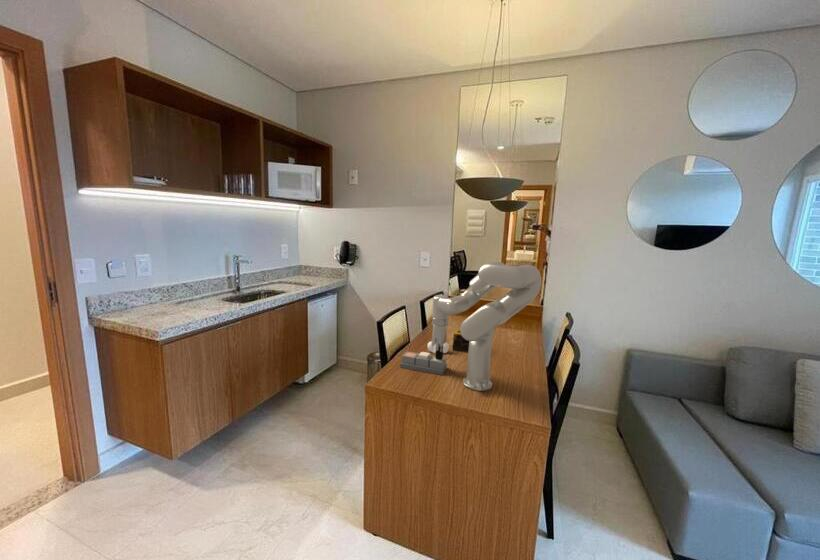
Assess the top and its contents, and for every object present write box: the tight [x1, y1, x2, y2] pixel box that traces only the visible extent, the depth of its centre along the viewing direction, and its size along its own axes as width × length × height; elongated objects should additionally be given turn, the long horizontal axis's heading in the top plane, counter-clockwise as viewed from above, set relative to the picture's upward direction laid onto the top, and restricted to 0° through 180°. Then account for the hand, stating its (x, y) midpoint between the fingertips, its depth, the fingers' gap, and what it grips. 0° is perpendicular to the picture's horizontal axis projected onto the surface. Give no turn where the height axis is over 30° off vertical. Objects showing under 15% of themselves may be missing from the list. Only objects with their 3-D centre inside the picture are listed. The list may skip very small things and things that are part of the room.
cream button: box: [418, 351, 431, 360], centre depth 162 cm, size 4×4×3 cm
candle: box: [451, 328, 470, 353], centre depth 190 cm, size 10×10×10 cm
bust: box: [427, 340, 450, 354], centre depth 184 cm, size 12×8×11 cm
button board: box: [399, 351, 448, 376], centre depth 162 cm, size 21×9×6 cm, turn 70°
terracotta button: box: [405, 352, 416, 357], centre depth 164 cm, size 4×4×3 cm
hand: (439, 358), depth 159 cm, fingers closed
